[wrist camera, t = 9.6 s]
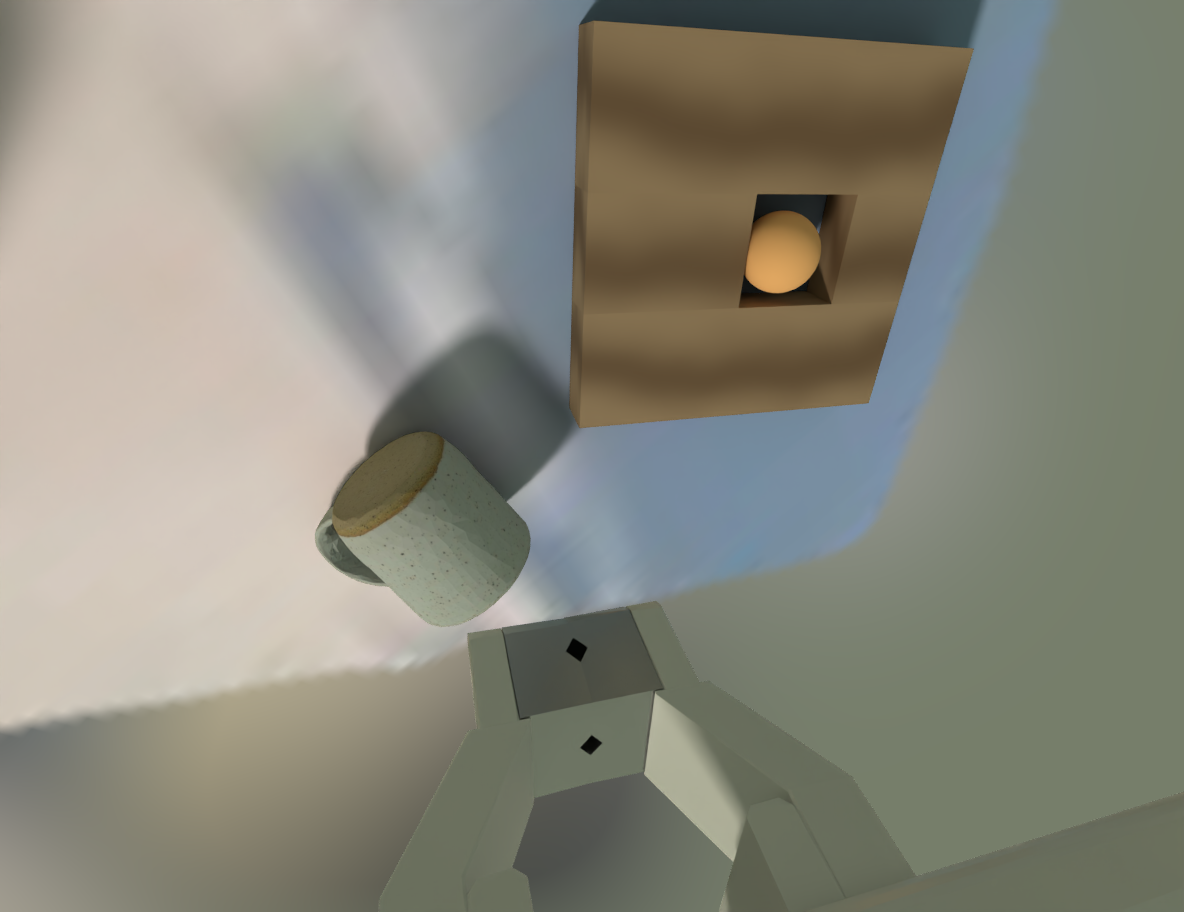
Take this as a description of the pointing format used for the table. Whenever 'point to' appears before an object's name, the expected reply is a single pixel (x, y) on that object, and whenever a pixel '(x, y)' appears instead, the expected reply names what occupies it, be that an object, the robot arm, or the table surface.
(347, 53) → the table surface
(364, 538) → the ceramic mug
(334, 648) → the table surface
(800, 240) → the rubber ball
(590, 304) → the board
